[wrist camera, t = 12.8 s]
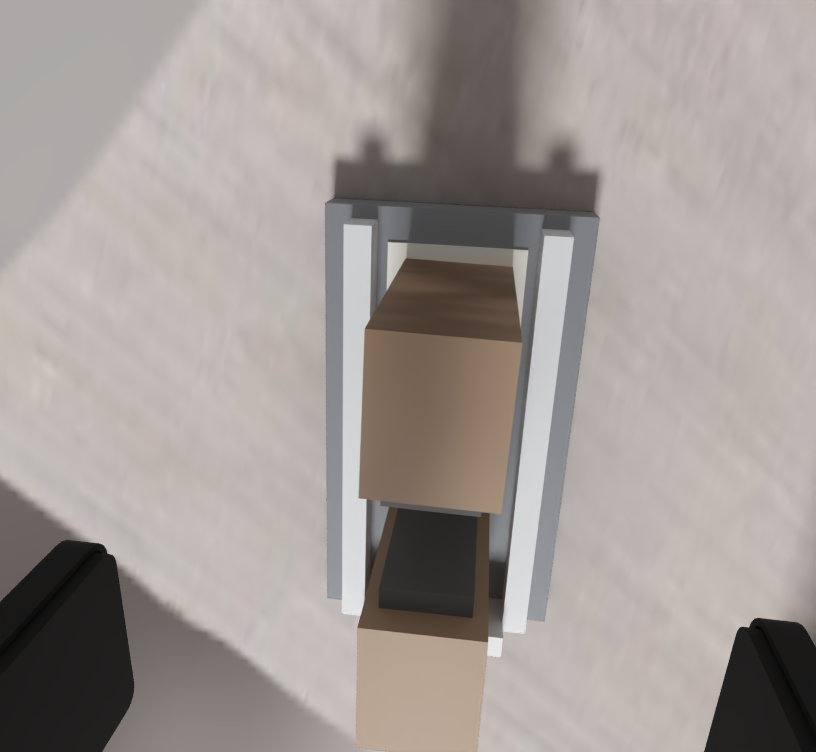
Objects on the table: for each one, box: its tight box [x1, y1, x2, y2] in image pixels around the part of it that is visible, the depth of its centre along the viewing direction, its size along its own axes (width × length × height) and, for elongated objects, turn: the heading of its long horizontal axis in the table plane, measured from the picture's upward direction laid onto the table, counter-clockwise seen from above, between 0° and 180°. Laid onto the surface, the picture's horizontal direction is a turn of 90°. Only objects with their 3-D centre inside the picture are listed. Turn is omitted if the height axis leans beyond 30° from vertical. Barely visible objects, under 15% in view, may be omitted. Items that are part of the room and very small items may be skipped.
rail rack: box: [325, 198, 600, 752], centre depth 25 cm, size 18×10×10 cm, turn 178°
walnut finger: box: [359, 258, 522, 517], centre depth 23 cm, size 4×6×9 cm
